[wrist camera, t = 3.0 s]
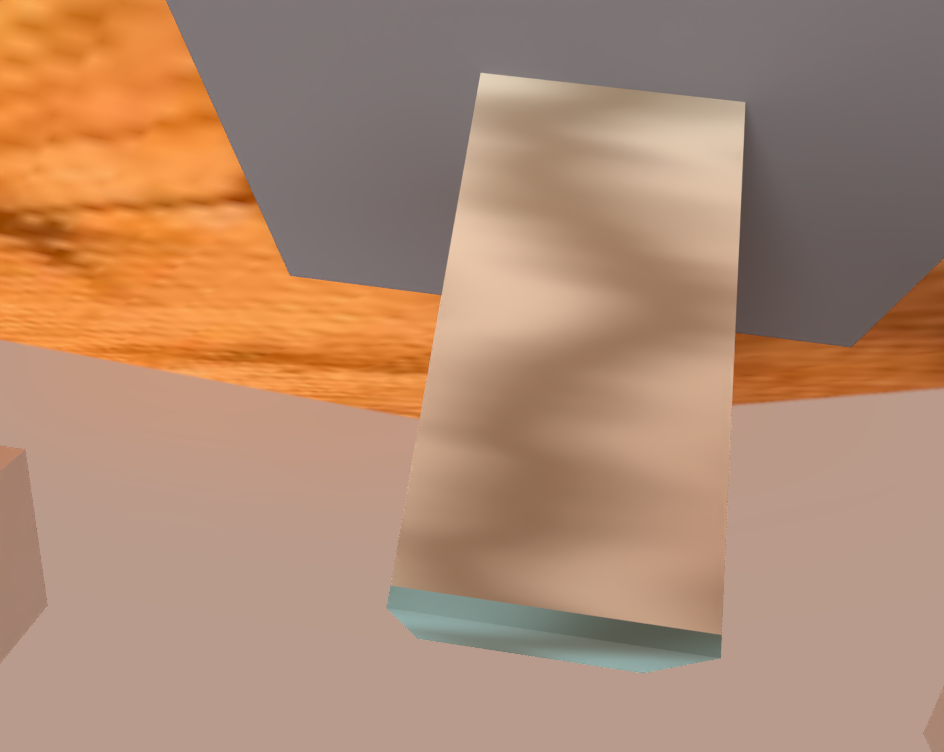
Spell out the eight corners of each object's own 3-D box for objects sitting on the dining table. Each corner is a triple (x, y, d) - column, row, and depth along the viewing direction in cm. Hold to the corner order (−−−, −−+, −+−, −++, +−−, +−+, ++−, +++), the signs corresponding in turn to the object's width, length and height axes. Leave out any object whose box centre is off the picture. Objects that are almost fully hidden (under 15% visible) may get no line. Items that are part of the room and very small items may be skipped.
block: (745, 102, 20) (720, 658, 15) (672, 268, 27) (642, 673, 23) (480, 72, 20) (386, 607, 16) (481, 245, 27) (417, 638, 23)
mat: (1253, -64, 15) (1257, -45, 14) (851, 336, 30) (851, 347, 30) (101, -175, 16) (94, -159, 16) (292, 266, 32) (290, 275, 32)
